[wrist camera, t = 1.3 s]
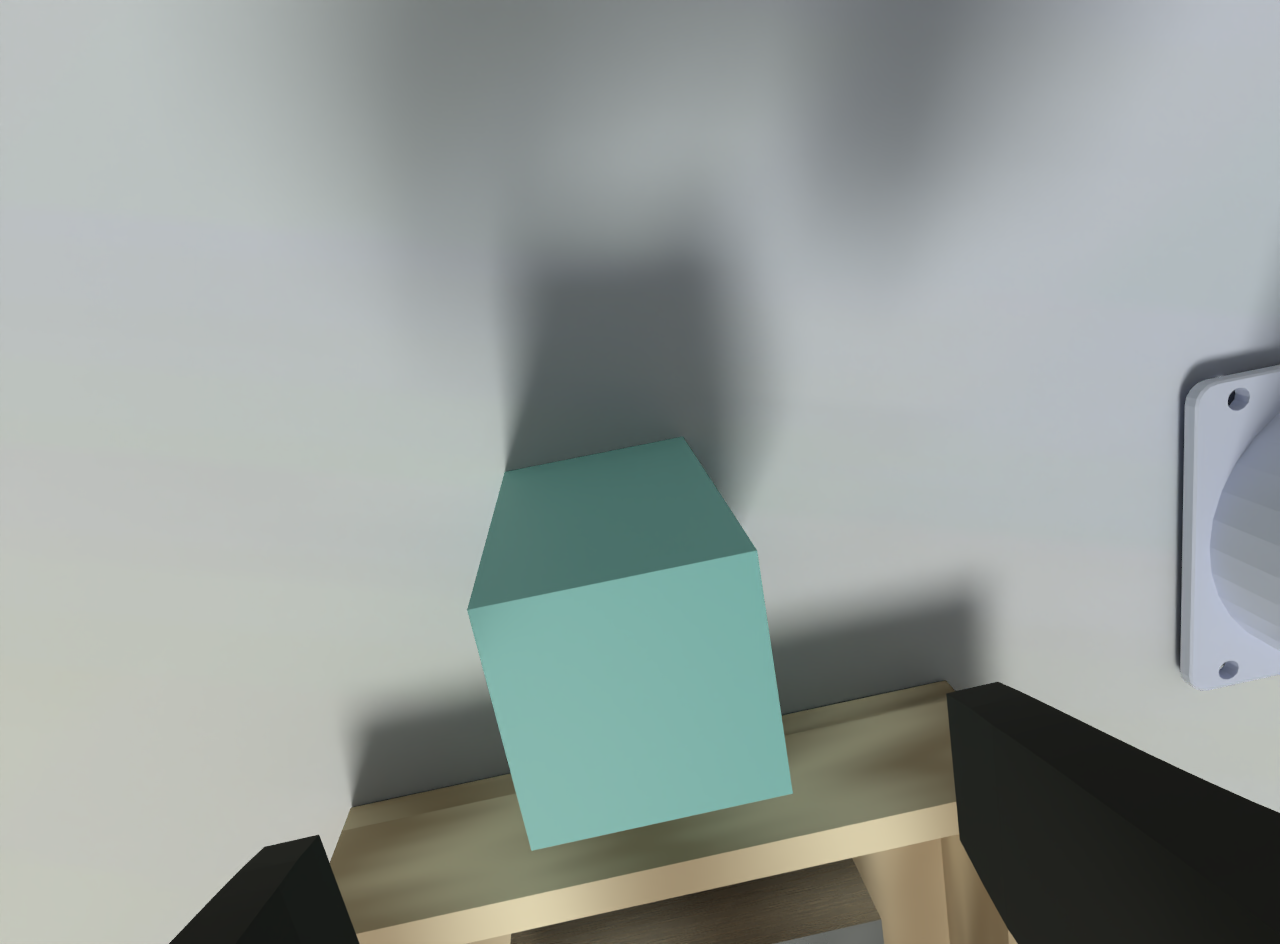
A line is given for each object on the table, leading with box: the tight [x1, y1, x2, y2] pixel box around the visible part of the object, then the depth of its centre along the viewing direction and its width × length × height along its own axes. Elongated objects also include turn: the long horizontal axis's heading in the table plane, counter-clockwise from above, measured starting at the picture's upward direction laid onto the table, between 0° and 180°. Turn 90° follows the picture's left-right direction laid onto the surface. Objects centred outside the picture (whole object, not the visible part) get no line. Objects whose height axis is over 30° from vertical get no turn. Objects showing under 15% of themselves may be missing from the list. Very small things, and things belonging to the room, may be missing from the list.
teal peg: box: [467, 437, 793, 851], centre depth 15 cm, size 4×4×7 cm
